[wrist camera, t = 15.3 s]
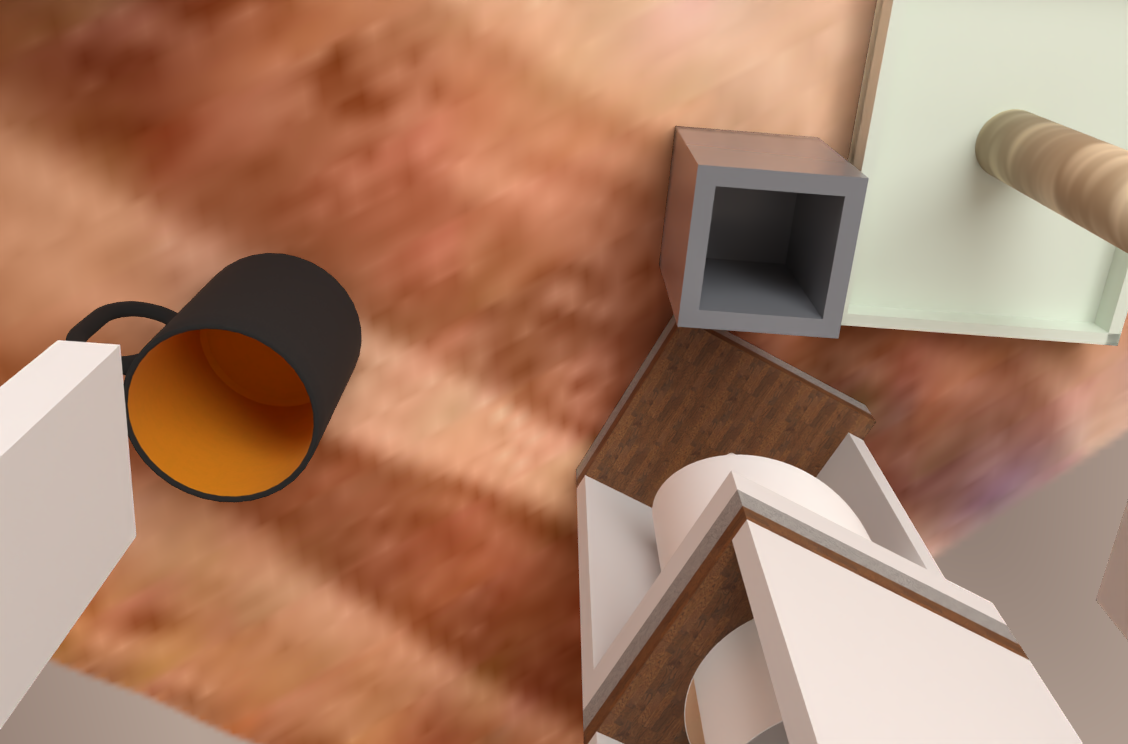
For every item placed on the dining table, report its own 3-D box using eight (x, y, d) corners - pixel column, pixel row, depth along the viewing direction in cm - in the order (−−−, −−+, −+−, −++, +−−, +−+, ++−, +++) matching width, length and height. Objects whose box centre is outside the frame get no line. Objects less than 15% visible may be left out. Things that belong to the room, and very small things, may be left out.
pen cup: (675, 125, 50) (698, 164, 42) (818, 137, 51) (868, 178, 42) (659, 264, 53) (677, 326, 45) (795, 274, 53) (838, 338, 45)
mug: (138, 208, 52) (42, 271, 42) (379, 280, 53) (339, 357, 44) (113, 359, 55) (18, 450, 45) (341, 423, 56) (296, 524, 47)
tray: (891, -79, 47) (908, -80, 45) (1202, -52, 47) (1235, -51, 45) (821, 307, 54) (832, 324, 51) (1093, 328, 54) (1117, 345, 52)
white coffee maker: (865, 405, 56) (1284, 1057, 24) (755, 557, 59) (987, 1307, 27) (679, 305, 54) (858, 871, 21) (576, 470, 57) (595, 1169, 25)
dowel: (984, 106, 49) (1183, 189, 33) (1052, 112, 49) (1283, 197, 33) (968, 175, 50) (1153, 286, 35) (1034, 180, 50) (1249, 294, 35)
